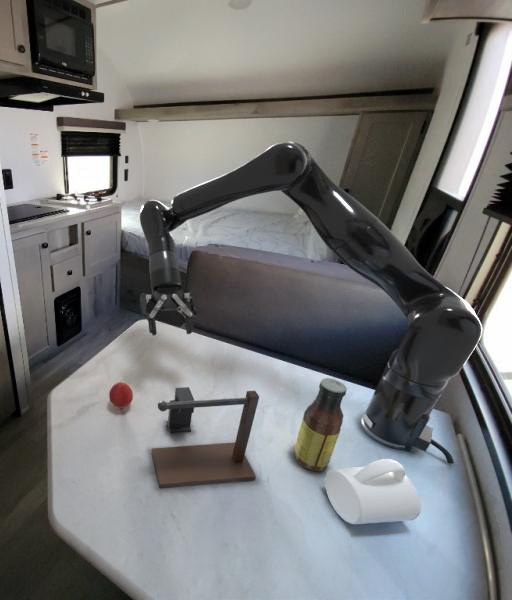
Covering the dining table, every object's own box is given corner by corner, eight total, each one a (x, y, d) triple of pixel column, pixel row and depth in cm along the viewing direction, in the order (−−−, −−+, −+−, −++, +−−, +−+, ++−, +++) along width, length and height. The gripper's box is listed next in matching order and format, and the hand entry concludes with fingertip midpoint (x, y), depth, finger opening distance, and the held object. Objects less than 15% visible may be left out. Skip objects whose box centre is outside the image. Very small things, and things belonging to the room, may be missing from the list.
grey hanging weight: (166, 423, 76) (169, 385, 71) (187, 421, 76) (192, 384, 71) (172, 441, 71) (176, 402, 66) (194, 440, 71) (199, 401, 66)
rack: (255, 480, 63) (275, 409, 54) (157, 488, 61) (163, 416, 53) (237, 445, 70) (253, 378, 62) (149, 452, 69) (153, 384, 60)
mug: (319, 487, 61) (338, 443, 56) (371, 484, 62) (394, 440, 56) (351, 535, 54) (376, 489, 48) (409, 531, 54) (440, 485, 49)
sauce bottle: (322, 451, 68) (352, 377, 60) (330, 477, 63) (364, 400, 54) (288, 443, 70) (312, 370, 62) (293, 467, 65) (320, 392, 56)
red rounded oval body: (105, 411, 79) (105, 386, 76) (114, 396, 84) (114, 371, 80) (128, 418, 77) (128, 392, 74) (135, 401, 82) (136, 377, 78)
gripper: (139, 267, 78) (145, 332, 73) (196, 265, 79) (206, 329, 74) (135, 279, 85) (140, 338, 80) (187, 277, 86) (196, 336, 81)
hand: (172, 334), depth 77 cm, fingers open, 8 cm apart
